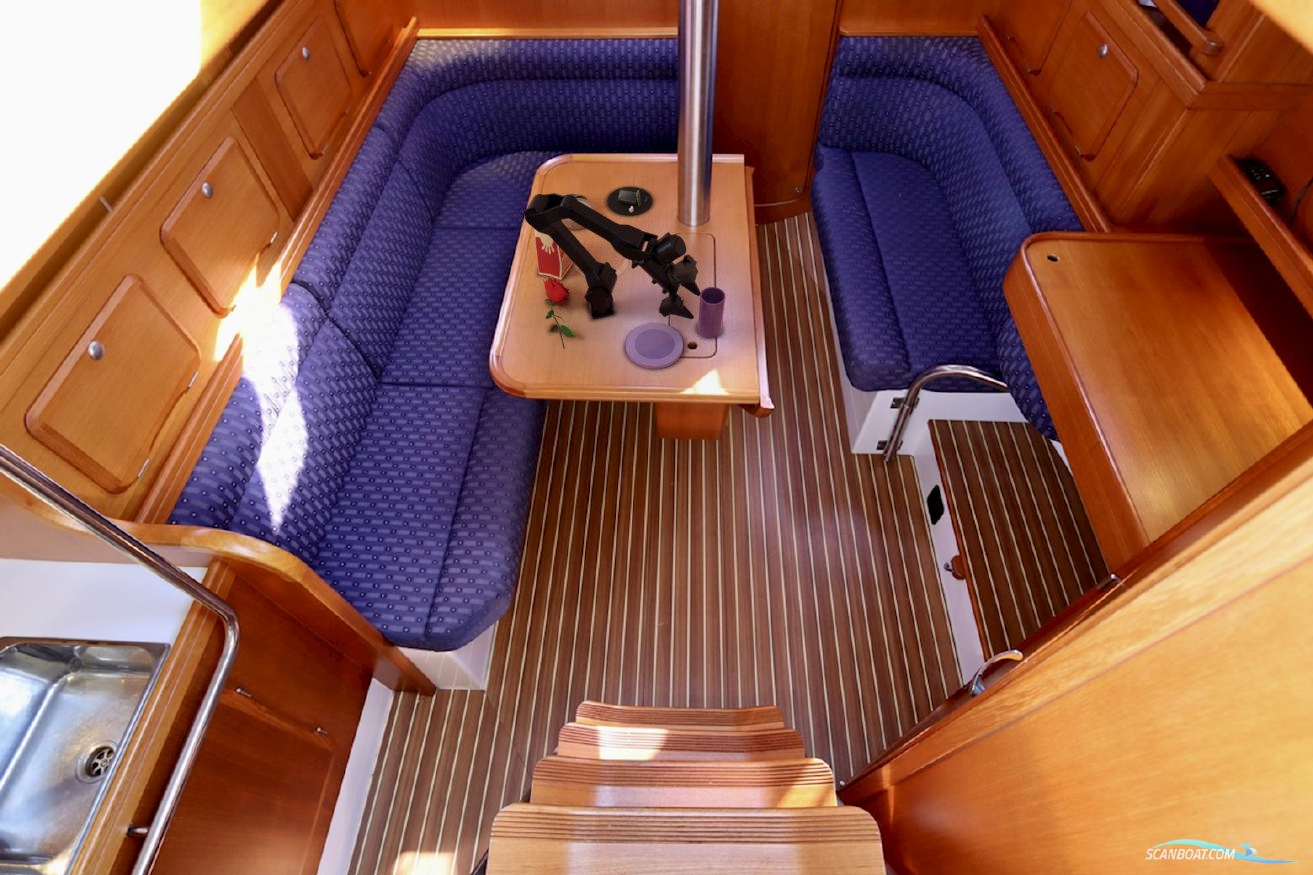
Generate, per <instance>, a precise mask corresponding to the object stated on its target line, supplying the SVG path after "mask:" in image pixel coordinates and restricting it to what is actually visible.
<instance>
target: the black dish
mask: <svg viewBox="0 0 1313 875" xmlns="http://www.w3.org/2000/svg"><path fill="white" fill-rule="evenodd" d="M606 201H607V202H606V204H607V206H608V209H610V210H611V211H612V212H614V213H615V214H617V215H621V216H627V217H632V216H638V215H641V214H644V213H645V212H647V211H648V210H649V209H650V208H651V206H652V205H653V198H652V196H651V194H650V193H649V192H648V191H647V190H645V189H644V188H640V187H636V186H623V187H620V188H617V189H615V190H613V191H611V193H609V195H608V197H607V200H606Z"/></svg>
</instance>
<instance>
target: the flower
mask: <svg viewBox="0 0 1313 875" xmlns="http://www.w3.org/2000/svg"><path fill="white" fill-rule="evenodd" d="M542 281H543V284H544V290H545V294H546V296H547V298H546V299H544V300H543V301H544V302H546V301H548V304H549V305H550V310H549V311H548V312H547V313H546V316H545V319H546V320H548V319H551V318H552V317H553V319H554V321H555V322H556V324H554V325H552V327H551V328H550V330H552V329H553V328H554V327H557V328H558V331H559V335H560V336H559V337H560V340H561V344H562V349H563V350H564V349H566V348H565V343H564V339H563V335H562V332H563V333H564V334H566V335H567V336H569V337H570V338H571V337H572V338H576V335H575V334H574V332H573V331H572V330H571V329H570V328H569V327H568V326H566V325H565V324H561V325H559V324H560V323H559V321H558V320H557V318H559V319H561V320H562V321H563V322H564V323H566V322H565V320H564V319H563V318H562V317H561V316H559V315H556V314H555V310H553V305H554V306H557V308H558V309H559V310H560V311H562V309H561V307H560V306H559V305H561V304H563V303H565V302H566V301H568V300H572V299H573V298H572V297H570V296H571V293H570V292H569V291H570V289H569V288H567V287H566V286H565V285H564V283H563V282H561V280H560V279H557V278H554V277H551V276H548V277H547V278H545V280H544V279H542ZM556 317H557V318H556Z"/></svg>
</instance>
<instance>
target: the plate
mask: <svg viewBox="0 0 1313 875" xmlns="http://www.w3.org/2000/svg"><path fill="white" fill-rule="evenodd" d="M625 351H626V354H627V357H628V358H629V359H630V360H631V361H632V362H633V363H634V364H635V365H637V366H640V367H642V368H644V369H651V370H652V369H653V370H657V369H663V368H666V367H670V366H671V365H673V364H674V363H676V362H677V361H678V360H679V359H680V357H681V356H682V354H683V352H684V341H683V338H682V336H681V333H679V331H677V330H676V329H675V328H673V327H672V326H670V325H667V324H665V323H660V322H649V323H645V324H640V325H639V326H636V328H634V329H633V330H632V331H630V333H629V334H628V336H627V337H626V340H625Z"/></svg>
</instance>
